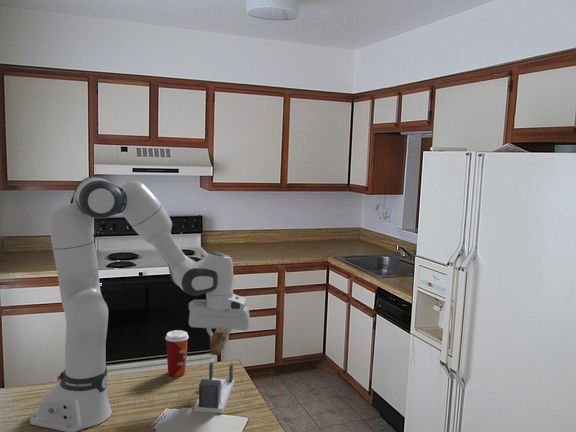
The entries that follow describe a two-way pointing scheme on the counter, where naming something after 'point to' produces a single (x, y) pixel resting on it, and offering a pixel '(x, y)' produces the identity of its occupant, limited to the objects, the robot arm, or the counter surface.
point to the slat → (217, 341)
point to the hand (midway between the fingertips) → (219, 340)
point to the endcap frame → (214, 392)
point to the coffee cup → (176, 352)
